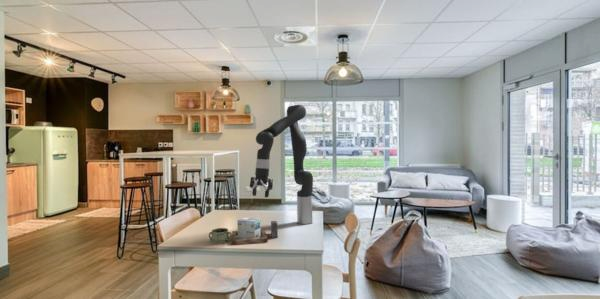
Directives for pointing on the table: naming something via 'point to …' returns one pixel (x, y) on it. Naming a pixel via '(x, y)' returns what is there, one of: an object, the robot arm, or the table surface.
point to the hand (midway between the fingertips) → (260, 196)
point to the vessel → (220, 235)
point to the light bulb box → (249, 228)
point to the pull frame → (257, 240)
